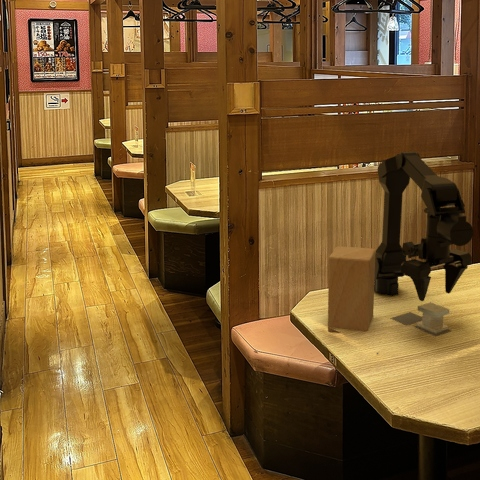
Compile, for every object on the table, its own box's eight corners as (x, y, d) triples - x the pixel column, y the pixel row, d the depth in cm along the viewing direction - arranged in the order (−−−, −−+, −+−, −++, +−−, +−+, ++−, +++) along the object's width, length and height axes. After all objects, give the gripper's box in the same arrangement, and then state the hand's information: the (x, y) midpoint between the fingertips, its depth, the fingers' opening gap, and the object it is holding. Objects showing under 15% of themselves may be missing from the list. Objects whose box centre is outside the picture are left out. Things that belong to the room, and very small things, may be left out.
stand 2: (412, 332, 166) (413, 326, 166) (429, 326, 169) (429, 321, 169) (435, 342, 160) (435, 336, 160) (451, 336, 163) (452, 330, 163)
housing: (429, 322, 168) (430, 302, 166) (448, 330, 163) (449, 309, 162) (416, 326, 166) (417, 306, 164) (435, 334, 161) (436, 313, 159)
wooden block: (373, 321, 173) (375, 248, 168) (367, 337, 164) (369, 259, 159) (335, 317, 176) (336, 245, 171) (327, 332, 167) (328, 256, 162)
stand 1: (389, 323, 172) (390, 318, 171) (410, 317, 175) (410, 312, 175) (406, 331, 167) (406, 325, 167) (426, 324, 171) (427, 318, 170)
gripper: (439, 222, 169) (435, 280, 173) (385, 234, 159) (383, 295, 164) (475, 231, 160) (470, 292, 164) (420, 244, 150) (417, 308, 154)
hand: (434, 296), depth 162 cm, fingers open, 9 cm apart
